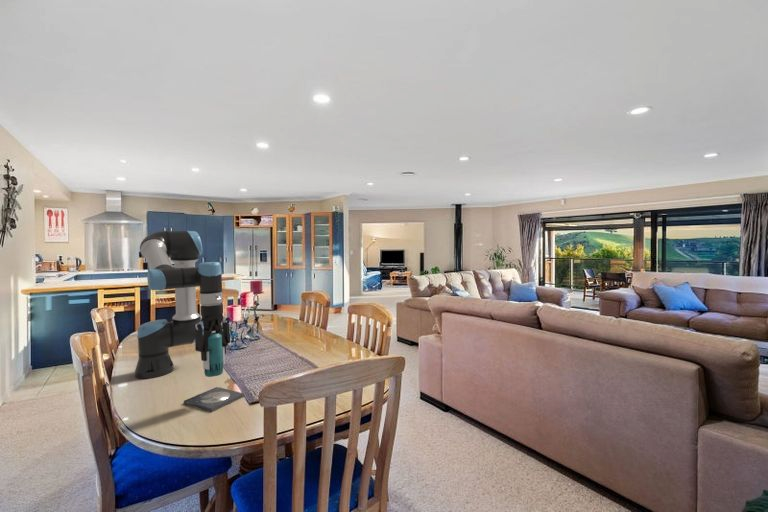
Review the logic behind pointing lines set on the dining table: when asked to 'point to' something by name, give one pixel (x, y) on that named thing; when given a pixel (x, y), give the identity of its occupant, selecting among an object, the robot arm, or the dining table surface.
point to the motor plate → (214, 399)
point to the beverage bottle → (215, 354)
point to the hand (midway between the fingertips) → (214, 366)
